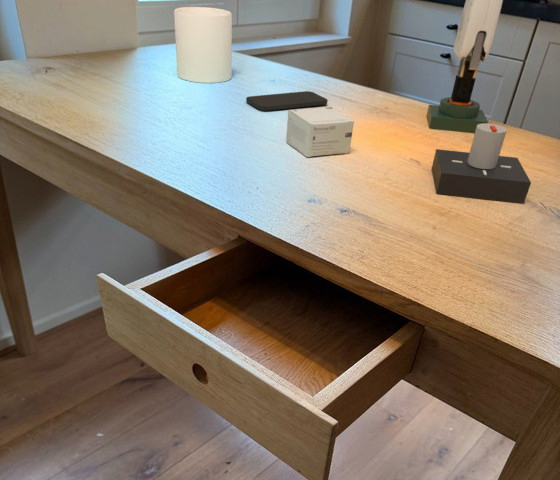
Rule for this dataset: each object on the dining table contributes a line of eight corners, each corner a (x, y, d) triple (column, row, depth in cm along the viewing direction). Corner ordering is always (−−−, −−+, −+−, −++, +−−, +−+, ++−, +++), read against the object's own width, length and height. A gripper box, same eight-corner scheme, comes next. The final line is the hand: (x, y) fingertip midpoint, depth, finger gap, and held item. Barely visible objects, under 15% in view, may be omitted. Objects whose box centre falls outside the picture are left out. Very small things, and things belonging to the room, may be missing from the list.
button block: (479, 122, 108) (485, 99, 105) (484, 134, 101) (491, 111, 99) (426, 116, 108) (431, 94, 106) (429, 129, 102) (434, 105, 100)
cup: (208, 67, 129) (206, 5, 121) (242, 78, 123) (243, 14, 115) (166, 74, 122) (162, 8, 114) (201, 85, 116) (199, 17, 108)
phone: (243, 96, 108) (310, 90, 114) (243, 101, 109) (309, 95, 115) (261, 107, 103) (330, 100, 109) (261, 112, 104) (329, 105, 110)
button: (467, 109, 105) (470, 99, 104) (470, 115, 102) (473, 105, 101) (446, 107, 105) (448, 97, 104) (448, 113, 102) (450, 103, 101)
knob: (465, 158, 82) (475, 119, 78) (493, 161, 81) (504, 122, 78) (469, 168, 79) (480, 128, 75) (498, 170, 78) (510, 131, 75)
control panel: (511, 177, 85) (517, 156, 83) (523, 203, 78) (531, 181, 76) (431, 169, 86) (436, 147, 84) (436, 194, 79) (441, 171, 76)
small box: (307, 158, 86) (310, 123, 83) (284, 142, 92) (287, 108, 88) (350, 154, 89) (355, 119, 86) (326, 138, 94) (330, 105, 91)
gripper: (461, -28, 96) (436, 89, 108) (472, -19, 85) (442, 110, 97) (506, -24, 96) (475, 93, 108) (523, -15, 85) (486, 114, 96)
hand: (459, 100), depth 102 cm, fingers closed
